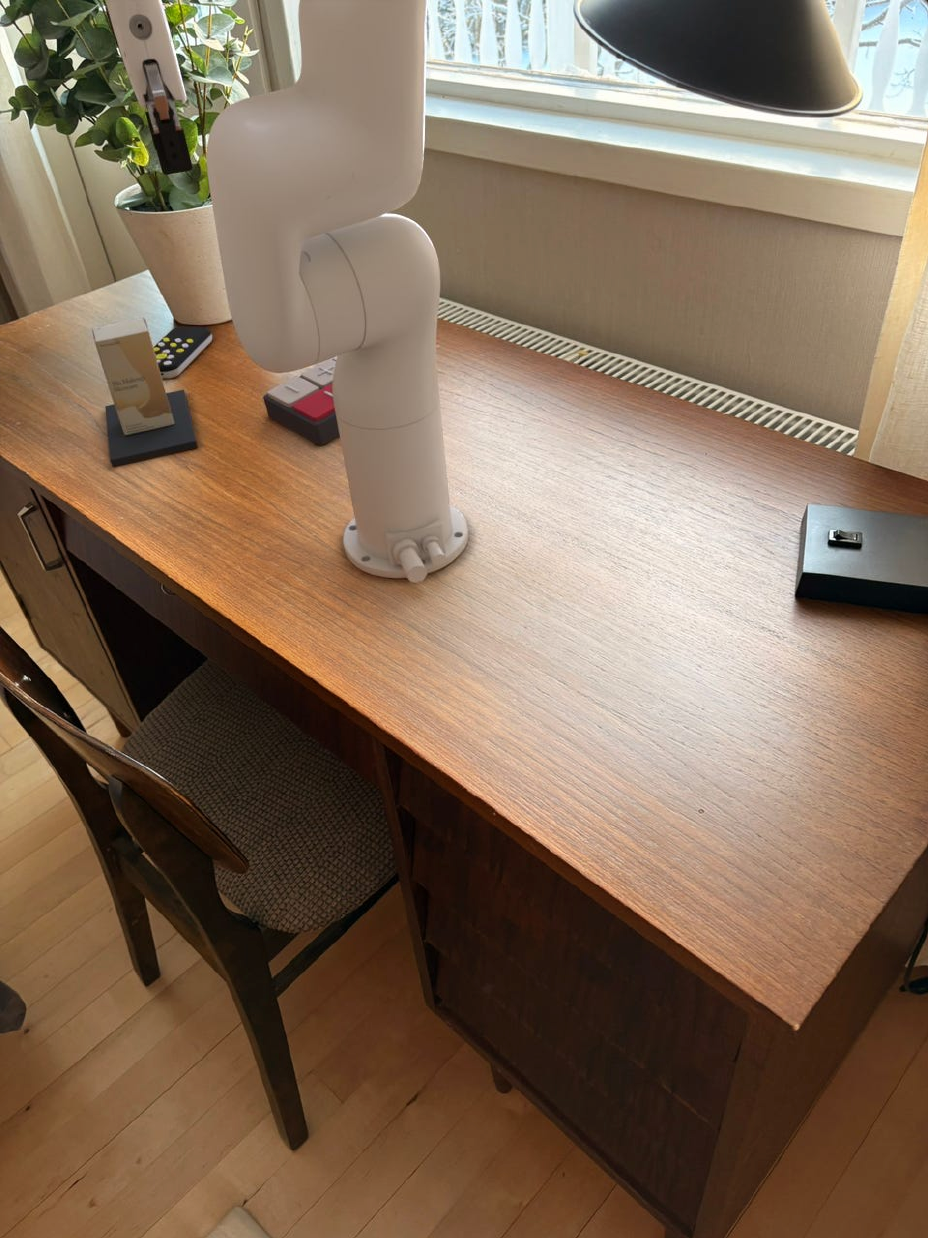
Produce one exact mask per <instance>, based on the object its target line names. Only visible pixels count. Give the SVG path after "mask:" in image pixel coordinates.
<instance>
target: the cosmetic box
mask: <svg viewBox="0 0 928 1238" xmlns="http://www.w3.org/2000/svg"><path fill="white" fill-rule="evenodd" d="M91 334H92V339H93V341H94V345H95V347H96V351H97V355H98V357H99V360H100V364H101V367H102V369H103V373H104V376H105V379H106V383H107V386H108V389H109V392H110V396H111V399H112V401H113V404H114V405H115V408H116V411H117V414H118V417H119V420H120V423H121V426H122V429H123V432H124V435H130V434H134V433H139V432H143V431H148V430H152V429H157V428H161V427H165V426H170V425H174V420H173V416H172V412H171V409H170V405H169V402H168V398H167V395H166V393H167V392H166V388H165V385H164V380H163V378H162V377H161V373H160V370H159V366H158V362H157V359H156V355H155V352H154V348H153V347H154V345H153V341H152V338H151V334H150V331H149V327H148V323H147V320H146V318H145V317H139V318H135V319H130V320H124V321H123V320H122V321H117V322H112V323H110V324H109V323H108V324H103V325H100V326H94V327H91Z"/></svg>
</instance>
